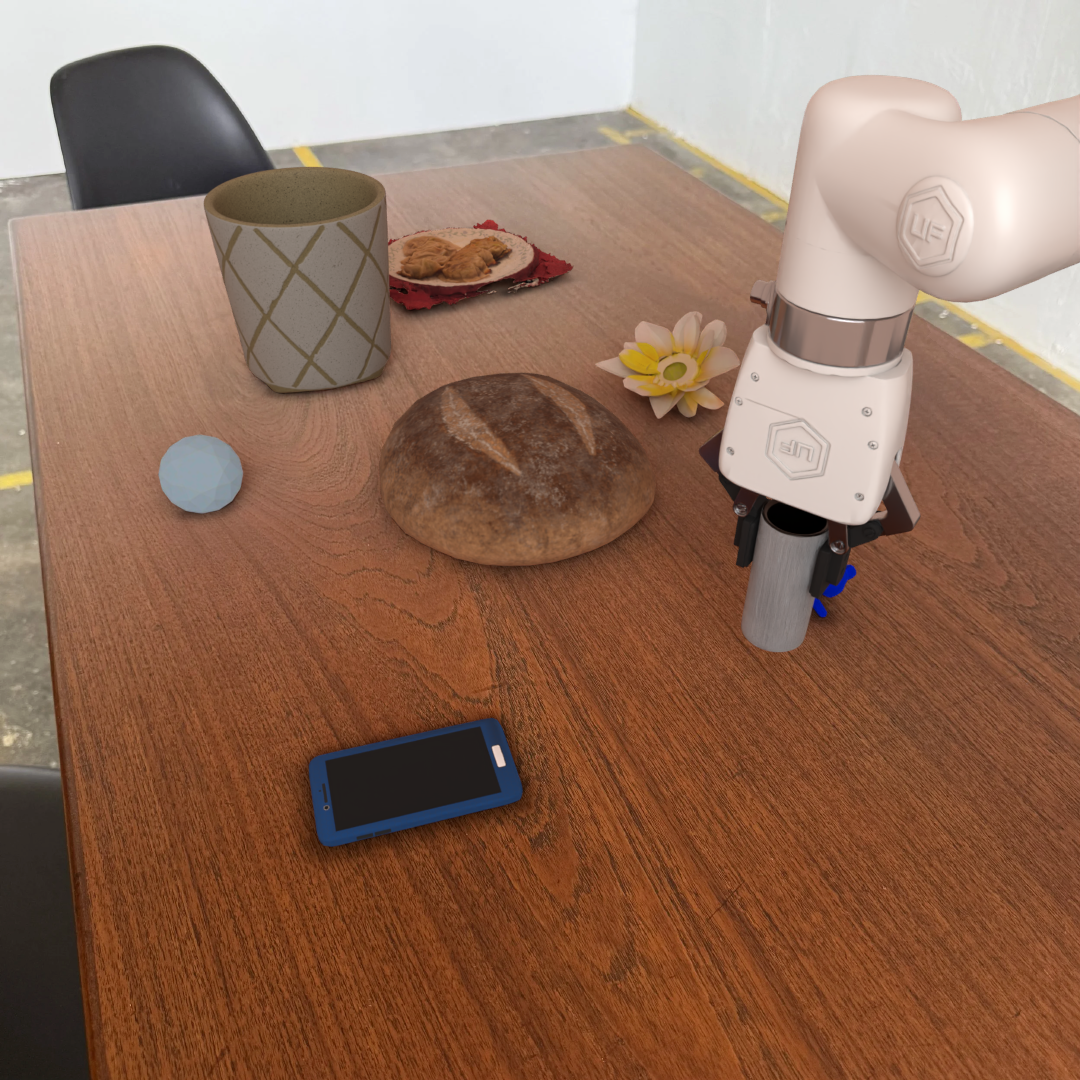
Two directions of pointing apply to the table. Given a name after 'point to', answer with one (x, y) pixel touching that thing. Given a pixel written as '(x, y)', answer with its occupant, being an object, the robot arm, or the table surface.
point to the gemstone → (200, 473)
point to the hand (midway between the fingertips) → (785, 569)
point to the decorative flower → (675, 364)
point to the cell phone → (412, 781)
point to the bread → (513, 471)
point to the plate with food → (464, 264)
